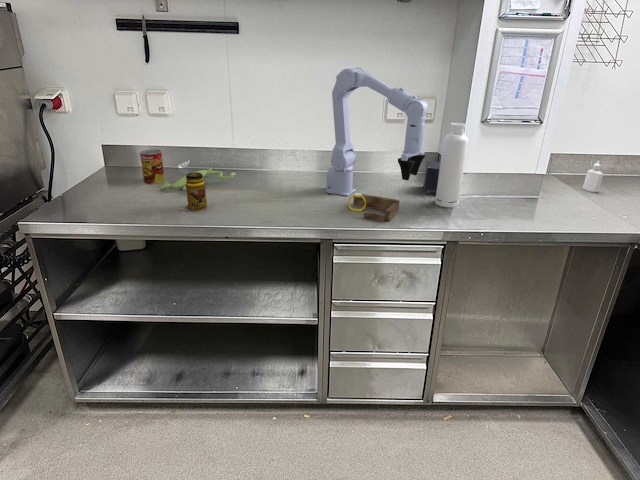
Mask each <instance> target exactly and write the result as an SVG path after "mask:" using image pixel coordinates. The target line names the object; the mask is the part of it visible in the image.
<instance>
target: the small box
mask: <svg viewBox="0 0 640 480" xmlns="http://www.w3.org/2000/svg"><path fill="white" fill-rule="evenodd" d="M440 163H441V161H432V160H430V161H429V160H426V164H425V165H426V167H425V173H424V181H423V190H422V192H423V194H424V195H431V196H432V195H433V196H436V192H437V185H438V177H439V170H440Z"/></svg>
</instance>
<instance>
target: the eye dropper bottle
mask: <svg viewBox="0 0 640 480" xmlns="http://www.w3.org/2000/svg"><path fill="white" fill-rule="evenodd" d="M600 163H601V161H600V160H597V161H596V163H594V164H593V167H592V169H588V170H587V172H586V175H585V179H584V182H583V185H582V190H584V191H586V192H588V193H593V194H595V193H598V192H599V190H600V187H601V184H602V180H603V177H604V173H603V172H602V171H601V167H602V165H601V164H600Z"/></svg>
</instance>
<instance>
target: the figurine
mask: <svg viewBox="0 0 640 480" xmlns="http://www.w3.org/2000/svg"><path fill="white" fill-rule="evenodd" d="M194 172H198V173H201V174H202V175H203V178H204V177H205V176H207V177H208V178H209V176H210V175H211V174H213V175H218V178H219V179H220V180H227V179H232V178H233V177H234V176H236V174H237V173H236V172H231V173H230V174H229V175H228V176H223V175H224V173H223V172H222V171H219V170H213V169H212V168H210V167H209V168H207V169H201V170H196V171H193V172H192V173H194ZM186 179H187V178H186V175H184V176H183V177H181V178H179V179H178V180H176V181H175V182H174V183H170V182H169V181H167V180H165V182H164V184H163V185H161V186H160V190H161V191H165V190H167V189H168V188H170V187H171V188H172V189H177V190H181V189H182V190H183V191H184V192H185V191H186V182H187V181H186ZM186 192H187V191H186Z"/></svg>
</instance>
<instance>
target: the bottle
mask: <svg viewBox="0 0 640 480" xmlns="http://www.w3.org/2000/svg"><path fill="white" fill-rule="evenodd" d="M466 124H467V123H462V122H450V131H449V133H448V134H446V135H445V136H444V138H443V141H442V147H441V148H442V149H441V156H440V157H441V158H440V162H441V163H440V170H439V177H438V185H437V192H436V195H435V200H434V203H435V204H436V205H437V206H440V207H443V208H456V207H458V206H459V202H460V201H459V200H460V197H461V195H460V194H461V189H462V183H463V177H464V170H465V164H466V157H467V151H468V145H469V138H468V137H467V135H466V134H465V127H466Z"/></svg>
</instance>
